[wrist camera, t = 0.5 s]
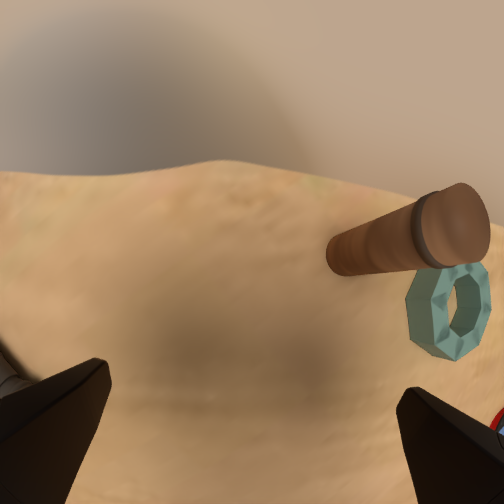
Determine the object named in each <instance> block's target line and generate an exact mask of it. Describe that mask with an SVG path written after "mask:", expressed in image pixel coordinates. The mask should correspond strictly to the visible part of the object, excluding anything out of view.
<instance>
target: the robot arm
mask: <svg viewBox="0 0 504 504" xmlns="http://www.w3.org/2000/svg"><path fill="white" fill-rule="evenodd" d="M111 387H112V381H111V376H110V370H109V365H108V363H107V361H105V360H102V359H99V358H92V359H90V360H87V361H85V362H83V363H81V364H78V365H76V366H74V367H72V368H69V369H67V370H65V371H62V372H60V373H58V374H56V375H53V376H51V377H49V378H46V379H44V380H42V381H39V382H37V383H35V384H32V385H30V386H27V387H25V388H23V389H20V390H18V391H15V392H13V393H10V394H8V395H6V396H3V397H2V399H1V398H0V504H65V502H66V499H67V497H68V494H69V492H70V489H71V487H72V484H73V482H74V480H75V477H76V475H77V473H78V470H79V468H80V466H81V463H82V461H83V459H84V457H85V455H86V452H87V450H88V448H89V446H90V444H91V441H92V439H93V437H94V435H95V433H96V430H97V428H98V425H99V422H100V419H101V416H102V413H103V410H104V407H105V405H106V402H107V399H108V396H109V393H110V390H111ZM396 415H397V419H398V424H399V429H400V434H401V439H402V444H403V449H404V453H405V456H406V460H407V463H408V467H409V470H410V474H411V477H412V481H413V485H414V489H415V493H416V497H417V501H418V504H504V435H502V434H500V433H499V432H496V431H495V430H493V429H491V428H489V427H488V426H486V425H484V424H482V423H480V422H479V421H477V420H475V419H473V418H472V417H470V416H468V415H466V414H465V413H463V412H461V411H459V410H458V409H456V408H454V407H452V406H451V405H449V404H447V403H446V402H444V401H442V400H440V399H439V398H437V397H435V396H434V395H432V394H430V393H429V392H427V391H425V390H424V389H422V388H420V387H410V388H407V389H406V390H405V392H404V394H403V396H402V398H401V399H400V401H399V403H398V405H397V407H396Z"/></svg>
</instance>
